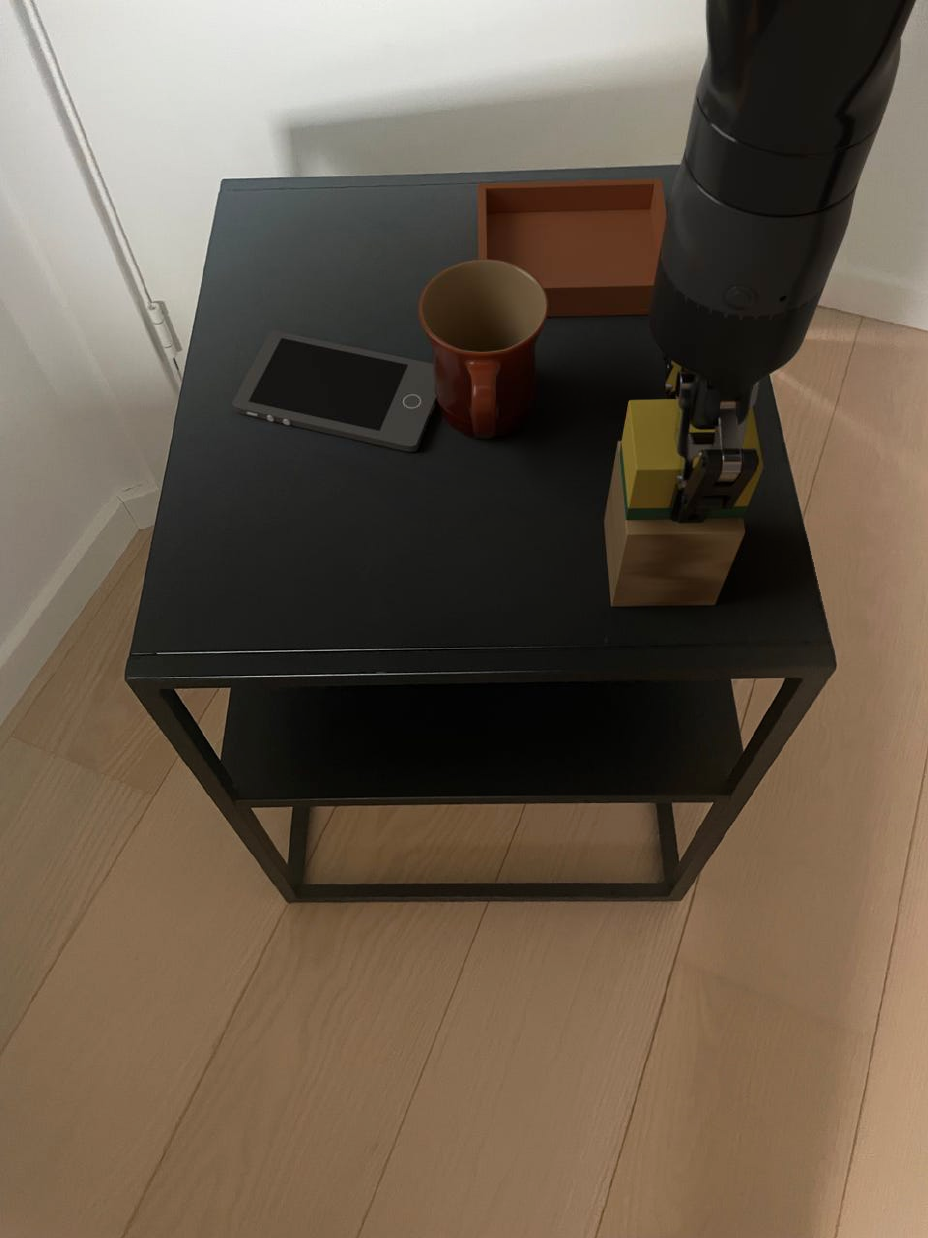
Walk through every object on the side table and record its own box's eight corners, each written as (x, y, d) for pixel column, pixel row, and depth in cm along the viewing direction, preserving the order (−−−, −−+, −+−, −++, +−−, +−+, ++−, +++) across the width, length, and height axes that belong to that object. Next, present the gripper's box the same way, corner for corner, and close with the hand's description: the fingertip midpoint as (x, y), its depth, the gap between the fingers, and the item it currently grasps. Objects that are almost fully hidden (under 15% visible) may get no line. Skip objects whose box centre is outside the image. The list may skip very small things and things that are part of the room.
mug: (429, 363, 75) (420, 259, 66) (541, 362, 75) (546, 257, 66) (424, 488, 70) (413, 393, 61) (545, 487, 69) (552, 392, 60)
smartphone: (230, 412, 73) (228, 406, 73) (271, 335, 77) (269, 329, 76) (415, 454, 71) (414, 448, 70) (448, 372, 74) (448, 366, 74)
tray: (656, 208, 83) (661, 177, 80) (670, 314, 77) (677, 284, 74) (478, 213, 83) (477, 182, 80) (479, 318, 77) (478, 289, 75)
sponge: (732, 450, 59) (751, 396, 55) (743, 518, 57) (764, 467, 52) (619, 453, 59) (628, 399, 55) (625, 520, 57) (636, 469, 53)
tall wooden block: (703, 518, 68) (730, 438, 60) (715, 605, 64) (745, 532, 56) (603, 520, 68) (617, 440, 60) (610, 607, 65) (626, 534, 57)
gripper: (863, 370, 39) (761, 579, 54) (804, 141, 46) (729, 384, 61) (678, 374, 39) (628, 581, 54) (647, 146, 46) (610, 387, 61)
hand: (682, 476), depth 57 cm, fingers closed on sponge, 5 cm apart
